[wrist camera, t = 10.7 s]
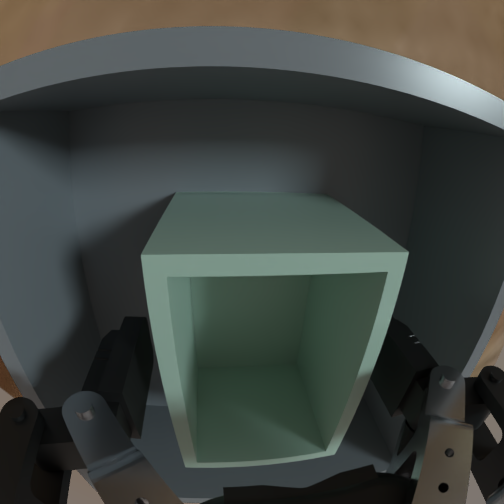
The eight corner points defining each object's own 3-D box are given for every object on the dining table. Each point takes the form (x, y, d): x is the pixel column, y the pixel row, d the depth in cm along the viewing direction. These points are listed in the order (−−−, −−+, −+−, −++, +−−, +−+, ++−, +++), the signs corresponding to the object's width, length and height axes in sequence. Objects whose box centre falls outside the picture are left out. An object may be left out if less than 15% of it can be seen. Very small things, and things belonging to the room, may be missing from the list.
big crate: (62, 96, 10) (-52, 91, 3) (427, 112, 12) (543, 126, 5) (116, 400, 17) (96, 491, 10) (363, 389, 19) (402, 468, 12)
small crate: (176, 191, 11) (140, 254, 6) (327, 194, 12) (409, 252, 7) (189, 367, 15) (185, 467, 9) (302, 362, 16) (334, 454, 10)
